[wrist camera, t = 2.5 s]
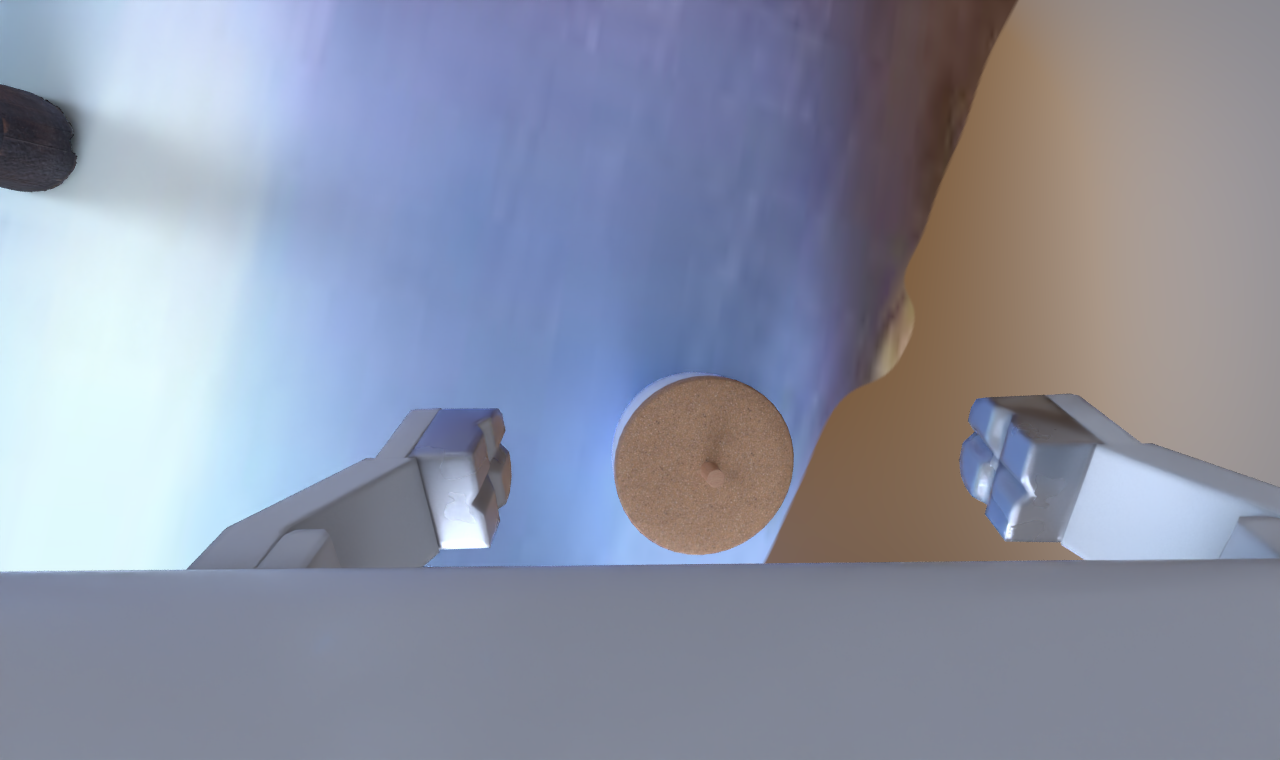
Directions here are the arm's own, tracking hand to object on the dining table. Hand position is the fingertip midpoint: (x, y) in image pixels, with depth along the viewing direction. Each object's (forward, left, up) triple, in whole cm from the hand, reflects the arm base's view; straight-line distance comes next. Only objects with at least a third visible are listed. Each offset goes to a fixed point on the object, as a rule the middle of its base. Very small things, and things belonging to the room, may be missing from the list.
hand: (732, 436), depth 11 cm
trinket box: (+10, -2, -30) cm, 32 cm away
